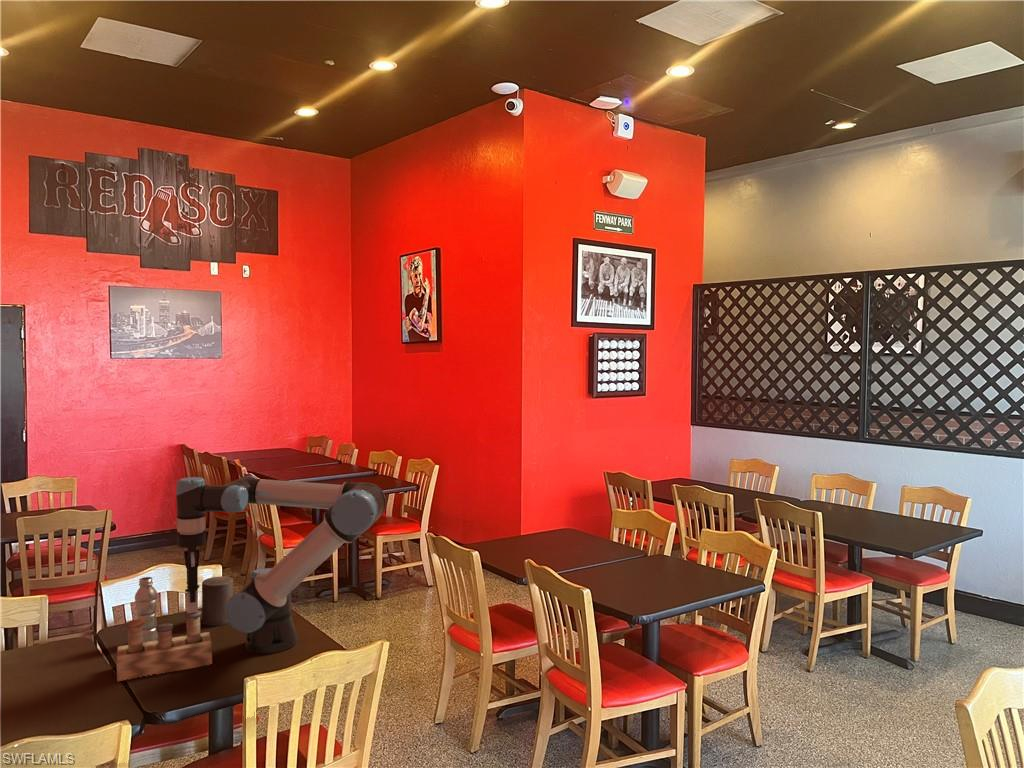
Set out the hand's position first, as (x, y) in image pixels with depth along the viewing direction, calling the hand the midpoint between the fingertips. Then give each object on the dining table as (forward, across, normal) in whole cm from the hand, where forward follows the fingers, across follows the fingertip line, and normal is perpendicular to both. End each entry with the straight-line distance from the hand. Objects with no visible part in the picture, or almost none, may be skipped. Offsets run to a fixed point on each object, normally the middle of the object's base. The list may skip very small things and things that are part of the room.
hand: (192, 612), depth 210 cm
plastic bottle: (+15, -21, -12) cm, 28 cm away
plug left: (+11, 0, 0) cm, 11 cm away
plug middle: (+14, 0, -7) cm, 16 cm away
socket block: (+14, 0, -7) cm, 16 cm away
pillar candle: (+15, -30, +9) cm, 35 cm away
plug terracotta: (+11, 0, -15) cm, 19 cm away
